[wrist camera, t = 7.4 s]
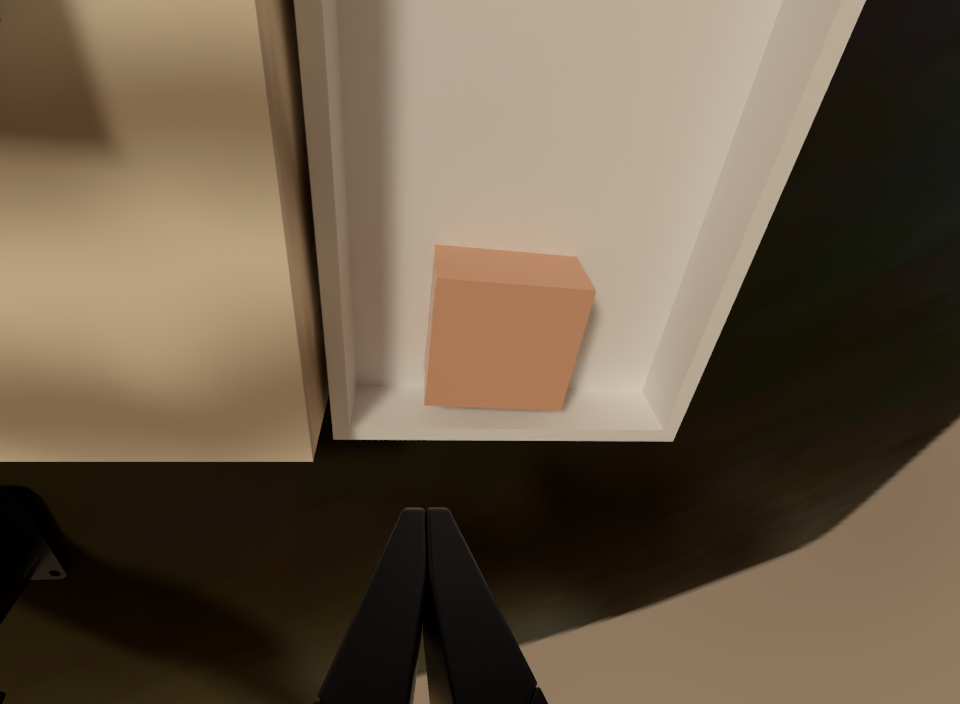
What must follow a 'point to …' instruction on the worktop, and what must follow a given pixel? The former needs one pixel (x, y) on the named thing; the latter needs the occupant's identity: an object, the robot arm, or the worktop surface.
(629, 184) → the bin
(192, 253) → the birch board
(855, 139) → the worktop surface
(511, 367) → the tile terracotta
